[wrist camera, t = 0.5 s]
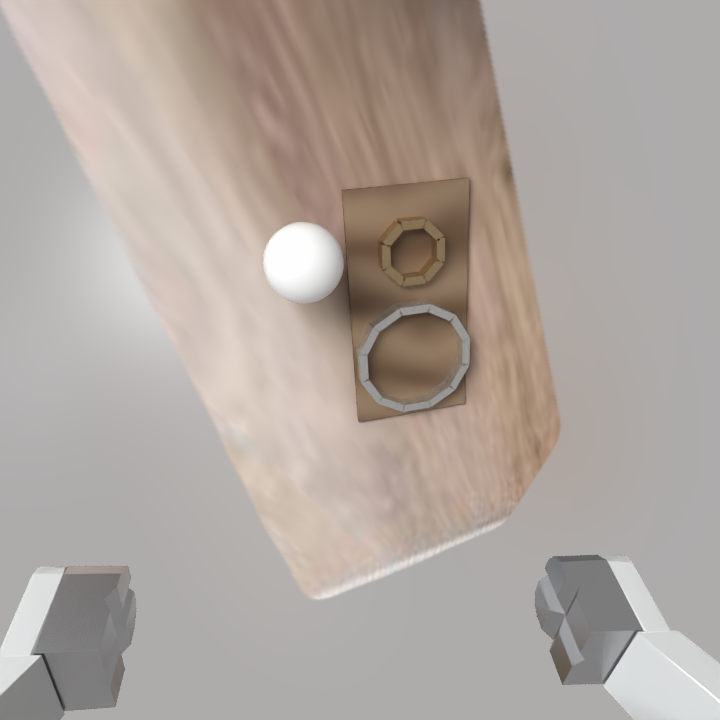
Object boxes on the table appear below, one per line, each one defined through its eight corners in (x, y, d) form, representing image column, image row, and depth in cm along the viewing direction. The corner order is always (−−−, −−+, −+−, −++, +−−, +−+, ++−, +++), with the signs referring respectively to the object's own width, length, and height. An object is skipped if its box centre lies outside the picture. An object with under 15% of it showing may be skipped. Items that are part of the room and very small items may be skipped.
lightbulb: (339, 232, 53) (368, 263, 44) (299, 287, 55) (319, 329, 45) (282, 190, 51) (300, 213, 41) (241, 249, 52) (249, 285, 42)
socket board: (341, 190, 52) (346, 193, 50) (467, 177, 54) (476, 180, 52) (357, 419, 62) (362, 429, 61) (462, 401, 64) (469, 409, 63)
